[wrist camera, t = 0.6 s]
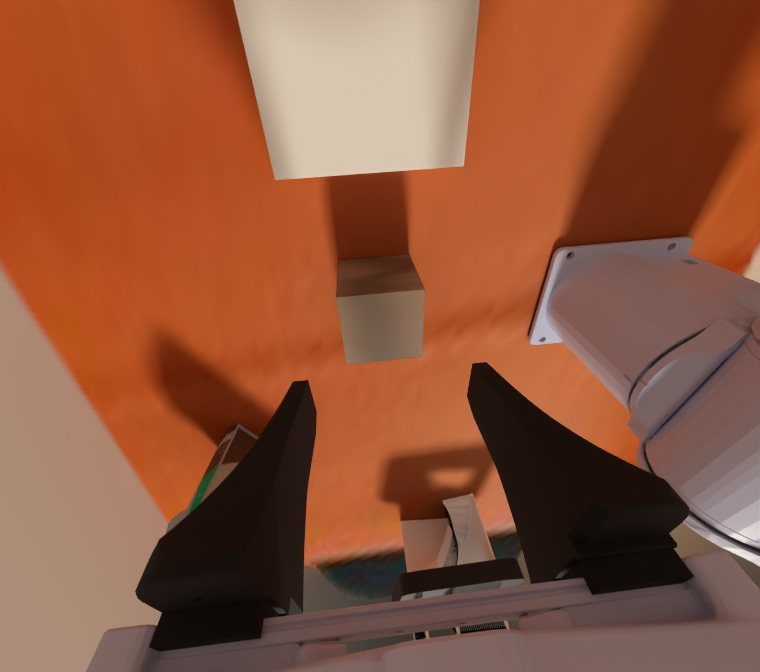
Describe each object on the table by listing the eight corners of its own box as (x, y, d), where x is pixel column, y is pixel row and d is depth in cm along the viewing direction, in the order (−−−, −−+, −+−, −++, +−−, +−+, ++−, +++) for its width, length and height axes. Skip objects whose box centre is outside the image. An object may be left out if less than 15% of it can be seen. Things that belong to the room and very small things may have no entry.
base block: (465, -110, 12) (496, -168, 9) (447, 158, 17) (463, 166, 15) (228, -102, 11) (196, -160, 9) (285, 170, 17) (275, 180, 14)
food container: (177, 440, 28) (110, 569, 20) (225, 414, 27) (174, 542, 19) (269, 491, 35) (247, 603, 27) (312, 473, 34) (301, 585, 26)
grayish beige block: (408, 253, 20) (424, 289, 16) (408, 313, 23) (422, 357, 19) (338, 259, 20) (336, 297, 16) (346, 319, 22) (346, 364, 18)
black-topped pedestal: (570, 444, 36) (665, 586, 25) (499, 538, 51) (540, 650, 40) (330, 451, 32) (322, 618, 22) (331, 549, 48) (327, 676, 37)
